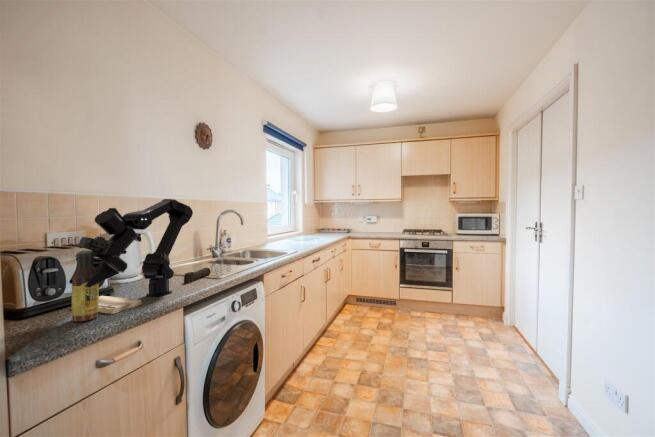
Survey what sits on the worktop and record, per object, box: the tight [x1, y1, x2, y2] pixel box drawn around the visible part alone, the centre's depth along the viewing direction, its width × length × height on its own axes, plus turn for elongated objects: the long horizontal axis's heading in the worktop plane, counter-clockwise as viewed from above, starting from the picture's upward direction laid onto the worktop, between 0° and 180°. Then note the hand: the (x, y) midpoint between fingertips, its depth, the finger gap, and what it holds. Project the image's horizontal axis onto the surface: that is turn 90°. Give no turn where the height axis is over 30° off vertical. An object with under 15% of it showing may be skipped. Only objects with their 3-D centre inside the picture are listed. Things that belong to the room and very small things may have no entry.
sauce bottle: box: [71, 251, 100, 323], centre depth 88 cm, size 7×6×20 cm
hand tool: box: [183, 267, 211, 284], centre depth 139 cm, size 19×4×5 cm, turn 170°
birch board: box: [98, 295, 142, 315], centre depth 99 cm, size 10×18×2 cm, turn 74°
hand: (78, 284), depth 86 cm, fingers open, 9 cm apart
